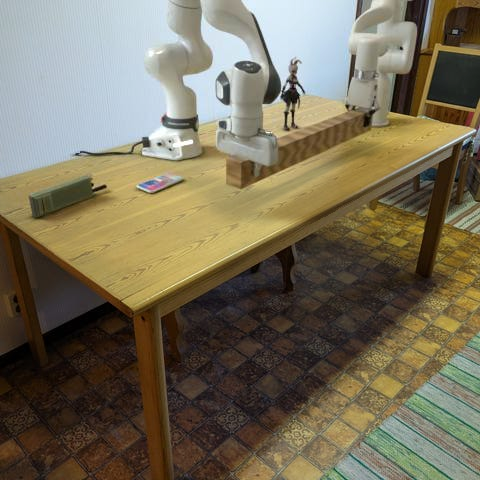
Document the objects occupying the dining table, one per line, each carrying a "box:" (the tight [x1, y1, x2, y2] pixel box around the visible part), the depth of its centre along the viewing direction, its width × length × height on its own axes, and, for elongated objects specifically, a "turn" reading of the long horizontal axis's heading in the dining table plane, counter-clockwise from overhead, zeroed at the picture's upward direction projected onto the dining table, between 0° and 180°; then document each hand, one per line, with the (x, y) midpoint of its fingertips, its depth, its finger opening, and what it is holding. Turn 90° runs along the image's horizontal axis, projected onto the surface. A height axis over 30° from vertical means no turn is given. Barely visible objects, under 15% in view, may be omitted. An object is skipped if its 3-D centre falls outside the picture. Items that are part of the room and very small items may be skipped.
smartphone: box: [136, 172, 184, 194], centre depth 164 cm, size 7×1×15 cm
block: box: [225, 107, 373, 190], centre depth 165 cm, size 75×6×8 cm, turn 139°
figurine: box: [279, 56, 306, 132], centre depth 211 cm, size 15×6×30 cm, turn 132°
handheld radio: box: [28, 173, 108, 219], centre depth 150 cm, size 7×3×25 cm
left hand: (245, 172), depth 145 cm, fingers closed on block, 5 cm apart
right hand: (358, 124), depth 188 cm, fingers closed on block, 5 cm apart
